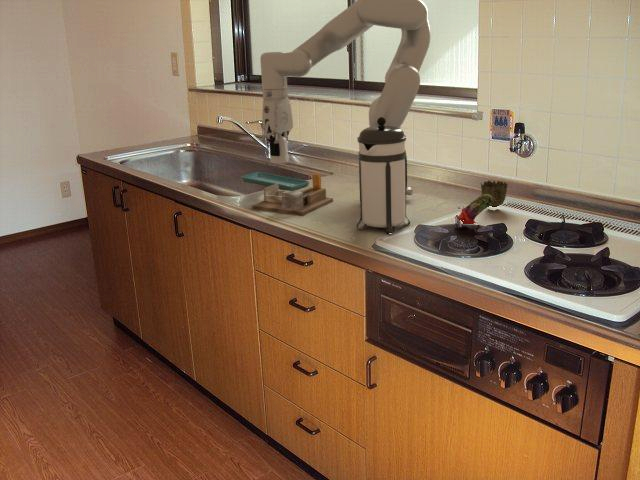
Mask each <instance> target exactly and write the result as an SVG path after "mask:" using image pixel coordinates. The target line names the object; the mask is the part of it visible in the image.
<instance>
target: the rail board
mask: <svg viewBox="0 0 640 480" xmlns="http://www.w3.org/2000/svg"><path fill="white" fill-rule="evenodd" d="M312 190H313V186H311V187H308V188H306V189H303V190H301V191H296V190H293V191H291V190H285V189H280V188H279V186H278V184H274V185H272V186H266V187H264V188H263V200H262V201H260V202H257V203H255V204H253V205H251V208H252V209H253V210H260V211H268V212H274V213H275V212H276V213H283V214H289V215H298V216H305V215H308V214H310V213H312V212H314V211H316V210H318V209H320V208H321V207H324V206H326V205H328V204H331V203H332V202H334V198H333V197H327V189H326V188H322V187H321V189H320V190H318V191H315V192H313V193H311V194H309V195H307V204H306V205H303V194H305V193H307V192H310V191H312Z"/></svg>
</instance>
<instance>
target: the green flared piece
mask: <svg viewBox="0 0 640 480" xmlns="http://www.w3.org/2000/svg"><path fill="white" fill-rule="evenodd" d="M508 185H509V184H508V182H506V181H503V180H501V181H500V180H497V182H496V181H495V180H493V181H491V180H487V181H483V183H482V182H480V190H481V195H483V194H488V195H491V197H492V204H491V206H492V207H497V206H501V205H503V203H504V202H505V200H506V198H507V197H506V196H507V193H508V191H507V190H508Z"/></svg>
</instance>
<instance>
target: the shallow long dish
mask: <svg viewBox="0 0 640 480" xmlns="http://www.w3.org/2000/svg"><path fill="white" fill-rule="evenodd" d="M240 177H241V179H242V181H243V182H244V183H249V184H254V185H259V186H264V187H269V186H272V185H274V184H278V186H279V190H285V191H296V190H299V189H304V188H306V187H308V186H309V184H310V181H309V180H305V179H304V180H303V179H299V178H292V177H287V176H282V175H277V174H272V173H266V172H261V171H256V172H252V173H250V174H245V175H242V176H240ZM292 184H293V185H292ZM287 185H289V186H287Z"/></svg>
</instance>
